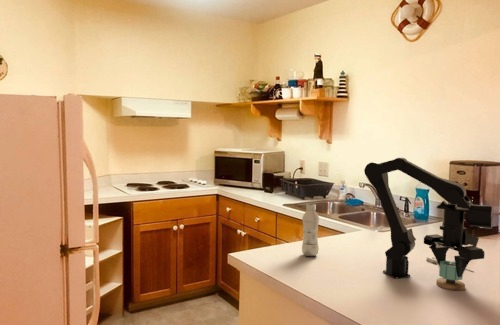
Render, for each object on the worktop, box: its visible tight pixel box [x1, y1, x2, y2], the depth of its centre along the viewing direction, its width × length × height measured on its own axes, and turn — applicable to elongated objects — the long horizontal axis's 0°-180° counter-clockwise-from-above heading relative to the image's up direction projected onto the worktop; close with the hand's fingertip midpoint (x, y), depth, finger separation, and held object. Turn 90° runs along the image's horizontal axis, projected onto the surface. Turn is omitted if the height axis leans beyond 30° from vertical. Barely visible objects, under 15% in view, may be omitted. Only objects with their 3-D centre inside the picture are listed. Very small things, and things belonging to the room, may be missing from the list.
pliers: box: [426, 256, 475, 273], centre depth 141 cm, size 10×2×15 cm
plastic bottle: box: [301, 203, 320, 257], centre depth 152 cm, size 6×7×20 cm
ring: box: [438, 260, 464, 281], centre depth 123 cm, size 6×6×4 cm
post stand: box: [435, 263, 466, 292], centre depth 123 cm, size 8×8×7 cm
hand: (450, 273), depth 123 cm, fingers closed on ring, 6 cm apart
